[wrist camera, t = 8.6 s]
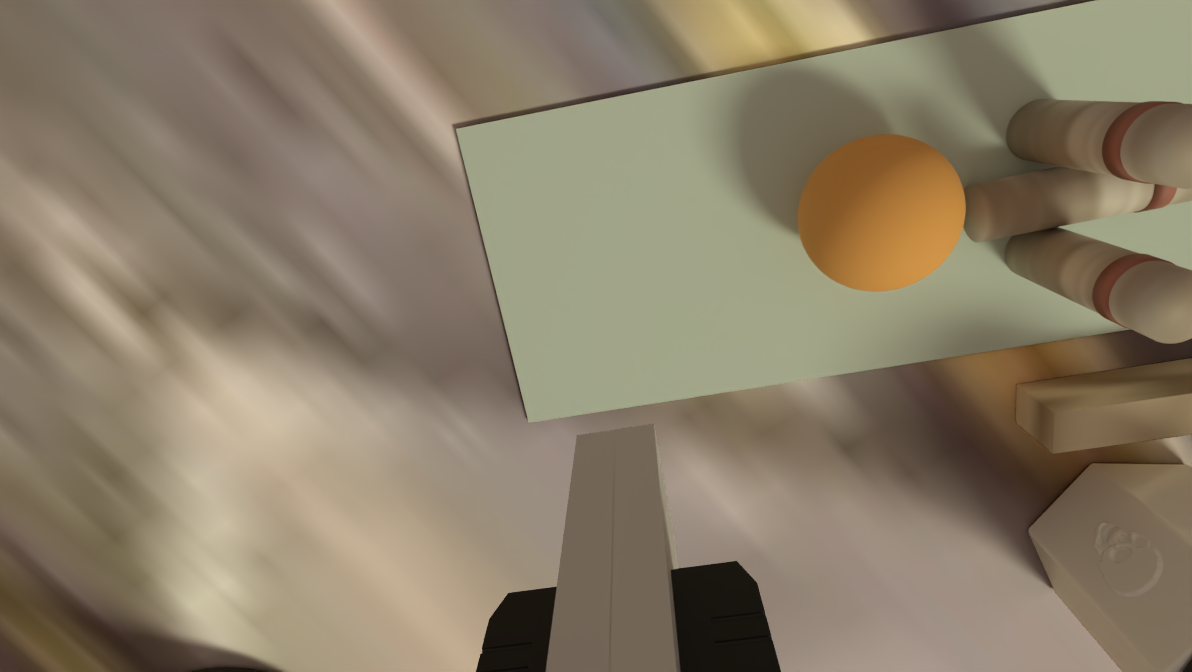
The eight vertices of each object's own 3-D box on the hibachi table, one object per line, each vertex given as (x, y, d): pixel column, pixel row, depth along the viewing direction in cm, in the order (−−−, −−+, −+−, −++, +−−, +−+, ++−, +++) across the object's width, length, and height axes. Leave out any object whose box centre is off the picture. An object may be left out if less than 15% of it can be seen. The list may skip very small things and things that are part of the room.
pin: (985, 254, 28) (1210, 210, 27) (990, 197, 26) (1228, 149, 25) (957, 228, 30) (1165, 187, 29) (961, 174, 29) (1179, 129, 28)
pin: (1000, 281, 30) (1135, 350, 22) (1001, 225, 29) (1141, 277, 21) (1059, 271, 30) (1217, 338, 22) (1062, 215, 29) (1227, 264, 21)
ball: (991, 262, 27) (844, 276, 31) (973, 109, 26) (822, 144, 30) (950, 305, 23) (786, 315, 27) (925, 125, 22) (758, 163, 26)
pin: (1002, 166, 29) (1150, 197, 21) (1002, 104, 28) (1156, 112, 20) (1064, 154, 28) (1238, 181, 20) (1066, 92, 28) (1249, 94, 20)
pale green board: (529, 420, 34) (528, 422, 33) (456, 128, 29) (455, 129, 29) (1228, 312, 30) (1231, 313, 30) (1271, -35, 26) (1276, -37, 26)
